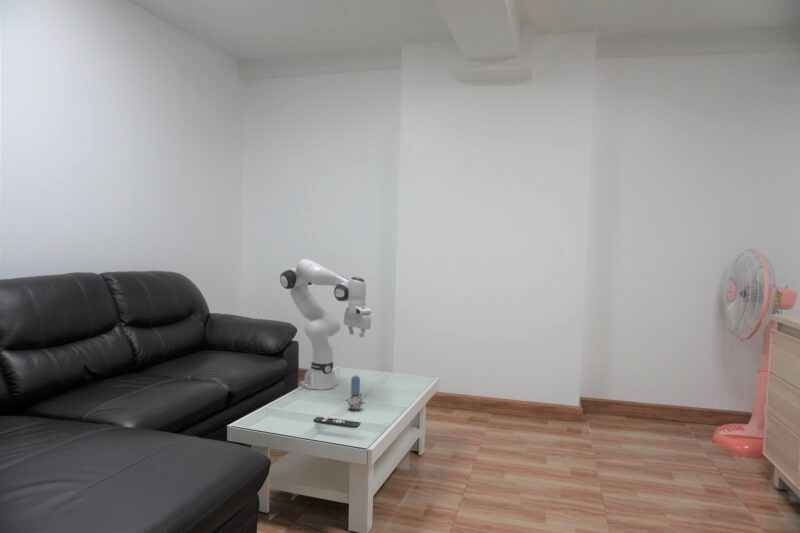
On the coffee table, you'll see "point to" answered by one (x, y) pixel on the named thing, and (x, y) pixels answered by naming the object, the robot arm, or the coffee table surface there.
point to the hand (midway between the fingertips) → (356, 335)
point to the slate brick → (355, 385)
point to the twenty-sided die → (355, 401)
